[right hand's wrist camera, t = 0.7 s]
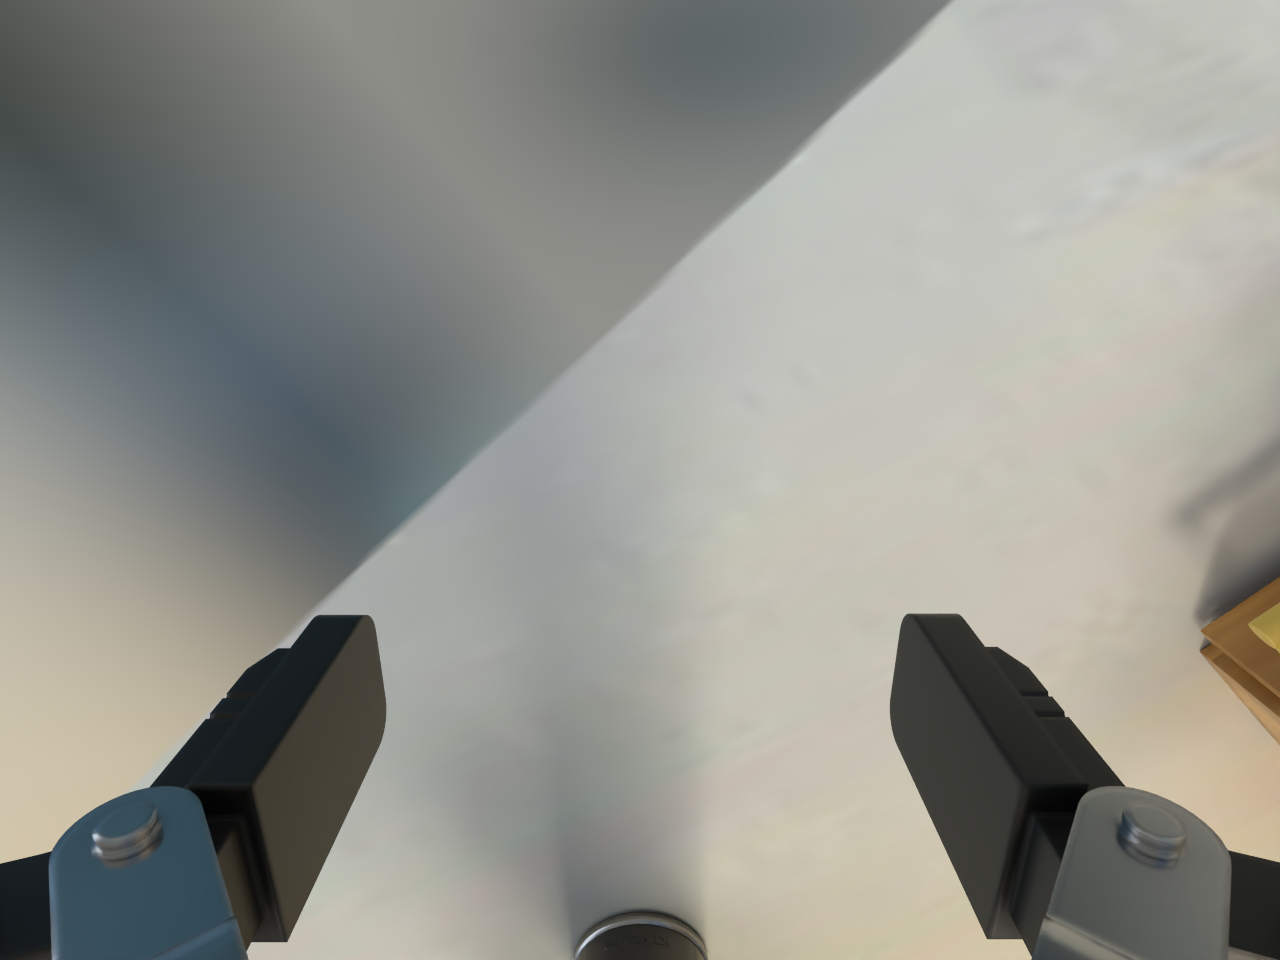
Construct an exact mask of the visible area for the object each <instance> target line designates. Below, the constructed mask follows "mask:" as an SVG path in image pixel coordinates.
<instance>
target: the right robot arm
mask: <svg viewBox="0 0 1280 960" xmlns="http://www.w3.org/2000/svg"><path fill="white" fill-rule="evenodd" d="M890 718H891V726H892V731H893V735H894V738H895V741H896V744H897V746H898V748H899V750H900V752H901V755H902V757H903V759H904V761H905V763H906V765H907V768H908V770H909V772H910V774H911V776H912V778H913V780H914V783H915V785H916V787H917V789H918V791H919V793H920V796H921V798H922V800H923V802H924V804H925V806H926V808H927V811H928V813H929V815H930V817H931V819H932V821H933V824H934V826H935V828H936V830H937V832H938V834H939V836H940V839H941V841H942V843H943V845H944V847H945V849H946V852H947V854H948V856H949V858H950V860H951V862H952V864H953V867H954V869H955V871H956V873H957V875H958V877H959V880H960V882H961V884H962V886H963V888H964V890H965V892H966V895H967V897H968V899H969V901H970V903H971V905H972V908H973V910H974V912H975V914H976V916H977V918H978V920H979V923H980V925H981V927H982V929H983V931H984V933H985V935H986V938H987V939H1023V941H1024V943H1025V945H1026V947H1027V948H1028V950H1029V952H1030V954H1031V956H1032V960H1280V863H1279V862H1275V861H1271V860H1267V859H1262V858H1258V857H1254V856H1249V855H1245V854H1241V853H1237V852H1232V851H1229V850H1227V848H1226V847H1225V845H1224V843H1223V842H1222V840H1221V839H1220V838H1219V837H1218V835H1217V834H1216V833H1215V832H1214V831H1213V830H1212V829H1211V828H1210V827H1209V826H1208V825H1207V824H1206V823H1205V822H1203V821H1202V820H1201V819H1199V818H1198V817H1197V816H1195V815H1194V814H1193V813H1191V812H1190V811H1188V810H1186V809H1185V808H1183V807H1181V806H1180V805H1178V804H1176V803H1174V802H1172V801H1170V800H1168V799H1165V798H1163V797H1161V796H1158V795H1156V794H1153V793H1150V792H1147V791H1143V790H1139V789H1135V788H1129V787H1125V785H1124V784H1123V783H1122V782H1121V781H1120V779H1119V778H1118V777H1117V776H1116V774H1115V773H1114V772H1113V771H1112V770H1111V768H1110V767H1109V766H1108V765H1107V763H1106V762H1105V761H1104V760H1103V758H1102V757H1101V756H1100V755H1099V754H1098V752H1097V751H1096V750H1095V749H1094V747H1093V746H1092V745H1091V744H1090V743H1089V741H1088V740H1087V739H1086V738H1085V736H1084V735H1083V734H1082V733H1081V732H1080V730H1079V729H1078V728H1077V727H1076V725H1075V724H1074V723H1073V722H1072V720H1071V719H1070V718H1069V717H1065V715H1064V711H1063V709H1062V708H1061V707H1060V706H1059V705H1058V703H1057V702H1056V701H1055V700H1054V698H1053V697H1049V696H1048V691H1047V690H1046V689H1045V687H1044V686H1043V685H1042V684H1041V682H1040V681H1039V680H1038V679H1037V678H1036V676H1035V675H1034V674H1033V673H1032V671H1031V670H1030V669H1029V668H1028V667H1027V666H1025V665H1024V664H1022V663H1021V662H1019V661H1018V660H1016V659H1015V658H1013V657H1012V656H1010V655H1009V654H1007V653H1006V652H1004V651H1003V650H1001V649H1000V648H998V647H985V646H984V645H983V644H982V642H981V641H980V640H979V638H978V637H977V636H976V634H975V633H974V632H973V630H972V629H971V628H970V626H969V625H968V624H967V622H966V621H965V620H964V619H963V617H962V616H960V615H959V614H907V615H905V617H904V618H903V621H902V623H901V628H900V634H899V641H898V648H897V655H896V662H895V670H894V677H893V684H892V691H891V698H890ZM385 721H386V698H385V691H384V684H383V677H382V670H381V663H380V656H379V649H378V642H377V635H376V629H375V625H374V622H373V620H372V618H371V617H370V616H369V615H318V616H316V617H314V618H313V619H312V621H311V622H310V623H309V625H308V626H307V627H306V628H305V630H304V631H303V632H302V634H301V635H300V636H299V638H298V639H297V640H296V641H295V643H294V644H293V645H292V647H291V648H278V649H276V650H275V651H273V652H272V653H270V654H269V655H267V656H266V657H264V658H263V659H261V660H260V661H258V662H257V663H255V664H254V665H252V666H251V667H249V668H248V669H247V670H246V671H245V672H244V673H243V674H242V676H241V677H240V678H239V679H238V681H237V682H236V683H235V684H234V685H233V687H232V688H231V689H230V690H229V691H228V693H227V697H226V698H223V699H222V700H221V701H220V702H219V704H218V705H217V706H216V707H215V708H214V710H213V711H212V712H211V713H210V719H205V721H204V722H203V723H202V724H201V725H200V727H199V728H198V729H197V730H196V732H195V733H194V734H193V735H192V736H191V738H190V739H189V740H188V741H187V742H186V744H185V745H184V746H183V747H182V749H181V750H180V751H179V752H178V753H177V755H176V756H175V757H174V758H173V759H172V761H171V762H170V763H169V764H168V766H167V767H166V768H165V769H164V770H163V772H162V773H161V774H160V775H159V776H158V778H157V779H156V780H155V781H154V783H153V784H152V785H151V786H150V787H149V788H145V789H141V790H137V791H133V792H130V793H127V794H124V795H122V796H119V797H117V798H115V799H112V800H110V801H108V802H106V803H104V804H102V805H100V806H99V807H97V808H95V809H94V810H92V811H90V812H89V813H87V814H86V815H85V816H83V817H82V818H81V819H79V820H78V821H77V822H75V823H74V824H73V825H72V826H71V827H70V828H69V829H68V830H67V831H66V832H65V833H64V834H63V835H62V837H61V838H60V839H59V840H58V842H57V843H56V845H55V847H54V848H53V850H52V851H51V852H48V853H44V854H40V855H36V856H32V857H27V858H23V859H19V860H14V861H10V862H6V863H2V864H0V960H248V956H247V953H246V951H247V949H248V947H249V945H250V944H251V942H287V941H288V939H289V937H290V935H291V933H292V931H293V929H294V926H295V924H296V922H297V920H298V918H299V916H300V914H301V912H302V909H303V907H304V905H305V903H306V901H307V899H308V897H309V895H310V892H311V890H312V888H313V886H314V884H315V882H316V880H317V878H318V875H319V873H320V871H321V869H322V867H323V865H324V863H325V861H326V858H327V856H328V854H329V852H330V850H331V848H332V846H333V844H334V841H335V839H336V837H337V835H338V833H339V831H340V829H341V826H342V824H343V822H344V820H345V818H346V816H347V814H348V812H349V809H350V807H351V805H352V803H353V801H354V799H355V797H356V795H357V792H358V790H359V788H360V786H361V784H362V782H363V780H364V778H365V775H366V773H367V771H368V769H369V767H370V765H371V763H372V761H373V758H374V756H375V754H376V752H377V750H378V748H379V746H380V743H381V740H382V737H383V733H384V728H385ZM574 960H708V957H707V951H706V948H705V946H704V944H703V942H702V940H701V939H700V937H699V936H698V935H697V934H696V933H695V932H694V931H693V930H692V929H691V928H689V927H688V926H687V925H685V924H683V923H682V922H680V921H677V920H675V919H673V918H670V917H667V916H663V915H659V914H653V913H629V914H623V915H618V916H615V917H611V918H609V919H606V920H604V921H602V922H600V923H598V924H597V925H595V926H594V927H592V928H591V929H590V930H588V931H587V932H586V933H585V934H584V936H583V937H582V938H581V939H580V941H579V943H578V945H577V947H576V949H575V953H574Z"/></svg>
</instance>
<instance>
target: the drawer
mask: <svg viewBox="0 0 1280 960" xmlns="http://www.w3.org/2000/svg"><path fill="white" fill-rule="evenodd" d="M1201 632H1202V633H1203V634H1204V636H1205V637H1206V638H1207V639H1208V640H1209V641H1210V643H1211V644H1213V645H1214V646H1215V647H1216V648H1218V649H1219V650H1220V651H1221V652H1223V653H1224V654H1225V655H1226V656H1228V657H1229V658H1230V659H1231V660H1233V661H1234V662H1235V663H1236V664H1238V665H1239V666H1240V667H1241V668H1243V669H1244V670H1245V671H1247V672H1248V673H1249V674H1250V675H1252V676H1253V677H1254V678H1255V679H1257V680H1258V681H1259V682H1260V683H1262V684H1263V685H1264V686H1265V687H1267V688H1268V689H1269V690H1270V691H1272V692H1273V693H1274V694H1275V695H1277V696H1278V697H1279V698H1280V577H1279V578H1277V579H1276V580H1274V581H1273V582H1271V583H1270V584H1268V585H1267V586H1265V587H1264V588H1262V589H1261V590H1259V591H1258V592H1256V593H1255V594H1254V595H1252V596H1251V597H1249V598H1248V599H1246V600H1245V601H1243V602H1242V603H1240V604H1239V605H1237V606H1236V607H1234V608H1233V609H1231V610H1230V611H1228V612H1227V613H1225V614H1224V615H1222V616H1221V617H1220V618H1218V619H1217V620H1215V621H1214V622H1212V623H1211V624H1209V625H1208V626H1206V627H1205V628H1203V629H1202V630H1201Z"/></svg>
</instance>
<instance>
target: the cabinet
mask: <svg viewBox="0 0 1280 960" xmlns="http://www.w3.org/2000/svg"><path fill="white" fill-rule="evenodd" d="M1200 652H1201V654H1202V655H1203V656H1204V657H1205V658H1206V660H1207V661H1208V662H1209V663H1210V664H1211V666H1212V667H1213V668H1214V669H1215V670H1216V671H1217V673H1218V674H1219V675H1220V676H1221V677H1222V678H1223V680H1224V681H1225V682H1226V683H1227V684H1228V685H1229V687H1230V688H1231V689H1232V690H1233V691H1234V692H1235V694H1236V695H1237V696H1238V697H1239V698H1240V700H1241V701H1242V702H1243V703H1244V704H1245V705H1246V707H1247V708H1248V709H1249V710H1250V711H1251V712H1252V714H1253V715H1254V716H1255V717H1256V718H1257V719H1258V721H1259V722H1260V723H1261V724H1262V725H1263V726H1264V728H1265V729H1266V730H1267V731H1268V732H1269V734H1270V735H1271V736H1272V737H1273V738H1274V739H1275V741H1276V742H1277V743H1278V744H1279V745H1280V698H1279V697H1278V696H1277V695H1275V694H1274V693H1273V692H1272V691H1270V690H1269V689H1268V688H1267V687H1265V686H1264V685H1263V684H1262V683H1260V682H1259V681H1258V680H1257V679H1255V678H1254V677H1253V676H1252V675H1250V674H1249V673H1248V672H1247V671H1245V670H1244V669H1243V668H1241V667H1240V666H1239V665H1238V664H1236V663H1235V662H1234V661H1233V660H1231V659H1230V658H1229V657H1228V656H1226V655H1225V654H1224V653H1223V652H1221V651H1220V650H1219V649H1218V648H1216V647H1215V646H1214V645H1213V644H1210V645H1209V646H1207V647H1206V648H1204V649H1203V650H1201V651H1200Z"/></svg>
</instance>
